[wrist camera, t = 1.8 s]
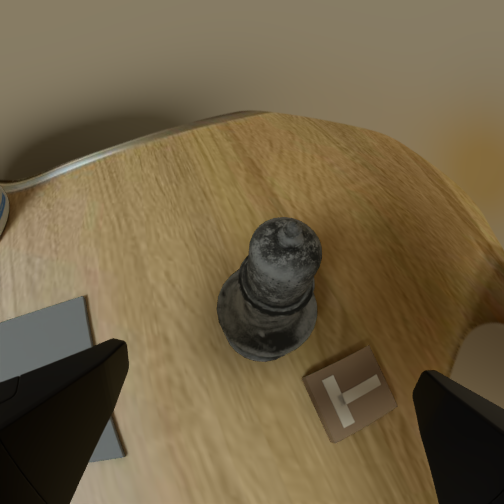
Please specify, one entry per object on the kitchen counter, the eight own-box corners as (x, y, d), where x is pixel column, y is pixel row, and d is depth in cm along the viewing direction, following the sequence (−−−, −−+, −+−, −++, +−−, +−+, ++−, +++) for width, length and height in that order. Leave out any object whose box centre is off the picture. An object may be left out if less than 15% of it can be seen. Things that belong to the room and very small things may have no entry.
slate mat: (125, 456, 15) (123, 457, 15) (4, 466, 12) (1, 466, 12) (84, 298, 20) (82, 296, 20) (-19, 331, 18) (-22, 329, 17)
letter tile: (387, 407, 18) (398, 406, 17) (328, 441, 17) (335, 443, 16) (360, 349, 20) (369, 344, 19) (300, 379, 19) (305, 376, 18)
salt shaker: (257, 269, 23) (279, 141, 12) (320, 319, 21) (400, 222, 11) (201, 326, 20) (168, 225, 10) (267, 383, 19) (313, 346, 8)
